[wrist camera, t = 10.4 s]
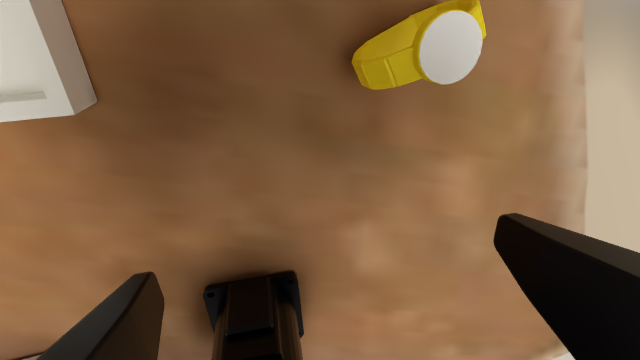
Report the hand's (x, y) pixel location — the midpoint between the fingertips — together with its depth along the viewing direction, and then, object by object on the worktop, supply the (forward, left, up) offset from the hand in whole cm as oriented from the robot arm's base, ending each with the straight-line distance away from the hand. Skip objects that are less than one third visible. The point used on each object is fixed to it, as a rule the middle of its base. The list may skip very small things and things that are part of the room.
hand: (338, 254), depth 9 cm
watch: (+4, -6, -12) cm, 14 cm away
